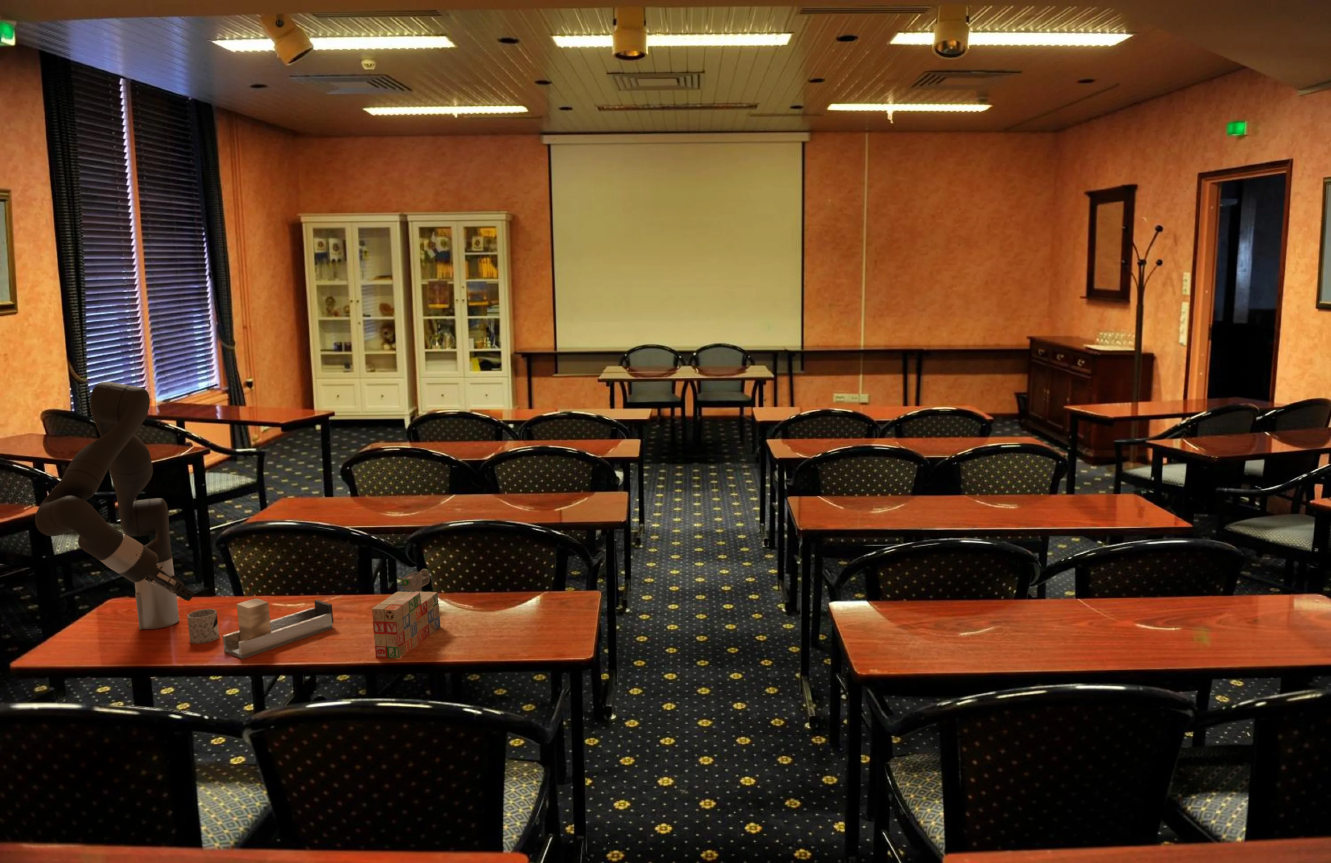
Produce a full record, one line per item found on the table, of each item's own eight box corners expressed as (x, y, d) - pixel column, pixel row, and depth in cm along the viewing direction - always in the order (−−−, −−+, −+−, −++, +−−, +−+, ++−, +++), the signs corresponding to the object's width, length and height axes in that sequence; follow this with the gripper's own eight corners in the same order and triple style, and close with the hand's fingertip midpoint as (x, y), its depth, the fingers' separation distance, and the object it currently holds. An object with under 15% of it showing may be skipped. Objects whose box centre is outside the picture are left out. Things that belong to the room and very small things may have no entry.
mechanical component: (433, 603, 264) (431, 568, 262) (412, 616, 254) (409, 579, 253) (424, 602, 265) (421, 567, 263) (402, 615, 255) (399, 578, 254)
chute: (242, 659, 229) (239, 634, 228) (224, 651, 234) (221, 627, 233) (336, 627, 248) (334, 605, 247) (317, 621, 253) (315, 598, 252)
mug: (222, 639, 242) (219, 613, 241) (193, 645, 238) (190, 620, 237) (212, 628, 250) (209, 603, 249) (184, 634, 246) (181, 609, 245)
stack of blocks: (418, 625, 248) (415, 579, 246) (441, 627, 246) (437, 580, 244) (375, 658, 227) (371, 607, 225) (399, 659, 226) (395, 608, 224)
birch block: (252, 648, 232) (248, 608, 230) (240, 643, 235) (236, 603, 234) (272, 641, 236) (268, 602, 234) (260, 637, 239) (256, 598, 238)
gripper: (153, 546, 208) (215, 587, 219) (126, 539, 216) (186, 578, 228) (130, 576, 205) (194, 616, 216) (103, 567, 213) (166, 606, 224)
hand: (190, 596), depth 222 cm, fingers closed
